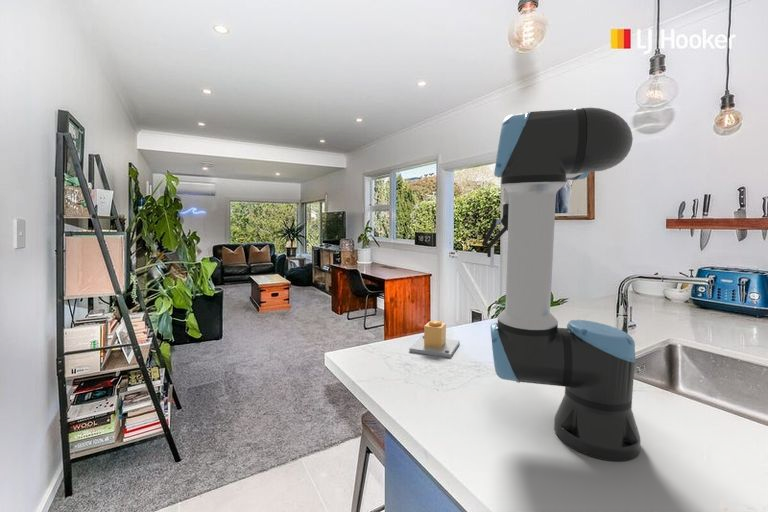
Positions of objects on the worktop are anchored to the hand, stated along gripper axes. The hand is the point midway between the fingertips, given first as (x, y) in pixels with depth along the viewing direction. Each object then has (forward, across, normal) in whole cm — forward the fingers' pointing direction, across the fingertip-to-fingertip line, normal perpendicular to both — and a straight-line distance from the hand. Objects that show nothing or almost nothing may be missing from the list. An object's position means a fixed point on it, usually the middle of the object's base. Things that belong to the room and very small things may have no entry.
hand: (513, 268), depth 119 cm
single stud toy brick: (+27, +25, +7) cm, 37 cm away
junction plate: (+28, +24, +7) cm, 38 cm away
